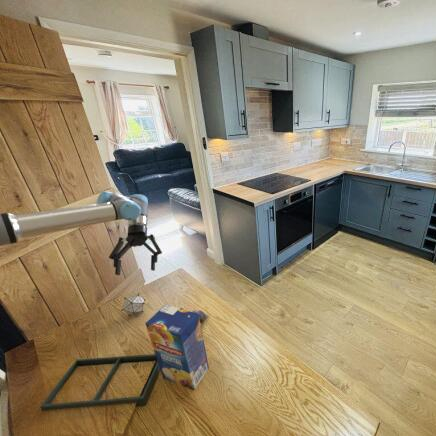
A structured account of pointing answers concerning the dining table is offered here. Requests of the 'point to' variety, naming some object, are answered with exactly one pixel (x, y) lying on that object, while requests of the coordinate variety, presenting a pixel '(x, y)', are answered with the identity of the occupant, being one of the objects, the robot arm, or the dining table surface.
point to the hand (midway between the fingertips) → (135, 272)
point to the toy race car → (200, 315)
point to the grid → (106, 383)
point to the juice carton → (178, 345)
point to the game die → (133, 304)
